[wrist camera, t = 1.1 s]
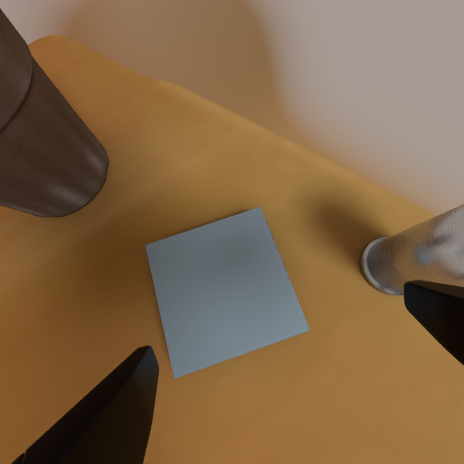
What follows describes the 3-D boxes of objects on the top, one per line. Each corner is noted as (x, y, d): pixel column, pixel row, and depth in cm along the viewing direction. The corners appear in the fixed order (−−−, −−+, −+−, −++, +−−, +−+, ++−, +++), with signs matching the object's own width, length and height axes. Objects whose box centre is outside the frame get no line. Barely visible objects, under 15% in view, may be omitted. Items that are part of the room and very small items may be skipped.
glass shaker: (427, 293, 22) (662, 285, 10) (367, 296, 22) (519, 293, 10) (410, 236, 24) (591, 167, 11) (354, 240, 24) (470, 176, 12)
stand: (301, 326, 22) (310, 330, 19) (183, 368, 21) (174, 378, 19) (258, 217, 25) (260, 206, 22) (156, 251, 25) (145, 245, 22)
